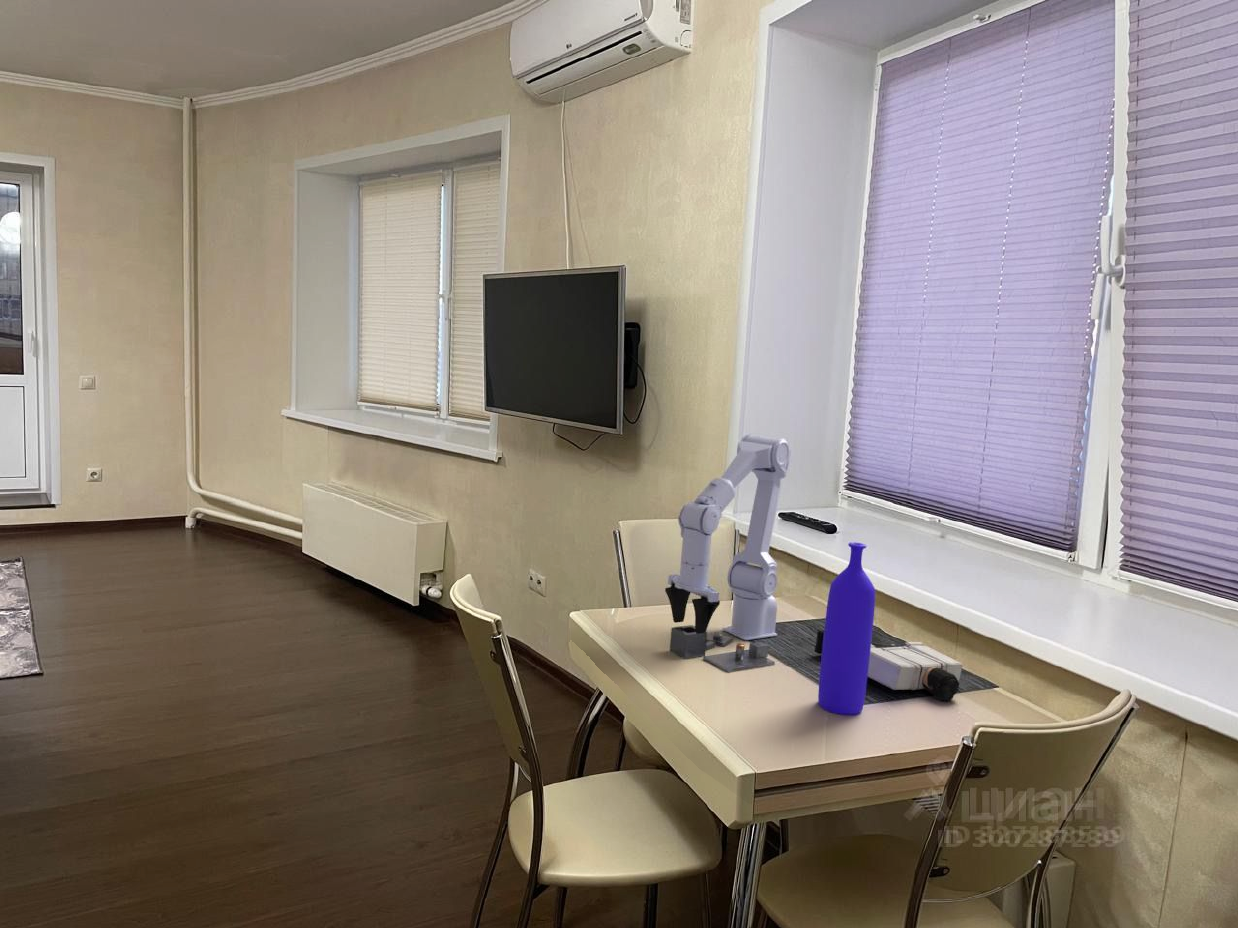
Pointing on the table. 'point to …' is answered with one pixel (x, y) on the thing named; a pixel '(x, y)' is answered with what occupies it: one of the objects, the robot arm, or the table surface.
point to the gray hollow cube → (687, 642)
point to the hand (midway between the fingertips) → (689, 627)
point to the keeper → (742, 658)
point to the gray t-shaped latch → (717, 640)
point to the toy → (910, 667)
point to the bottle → (847, 639)
